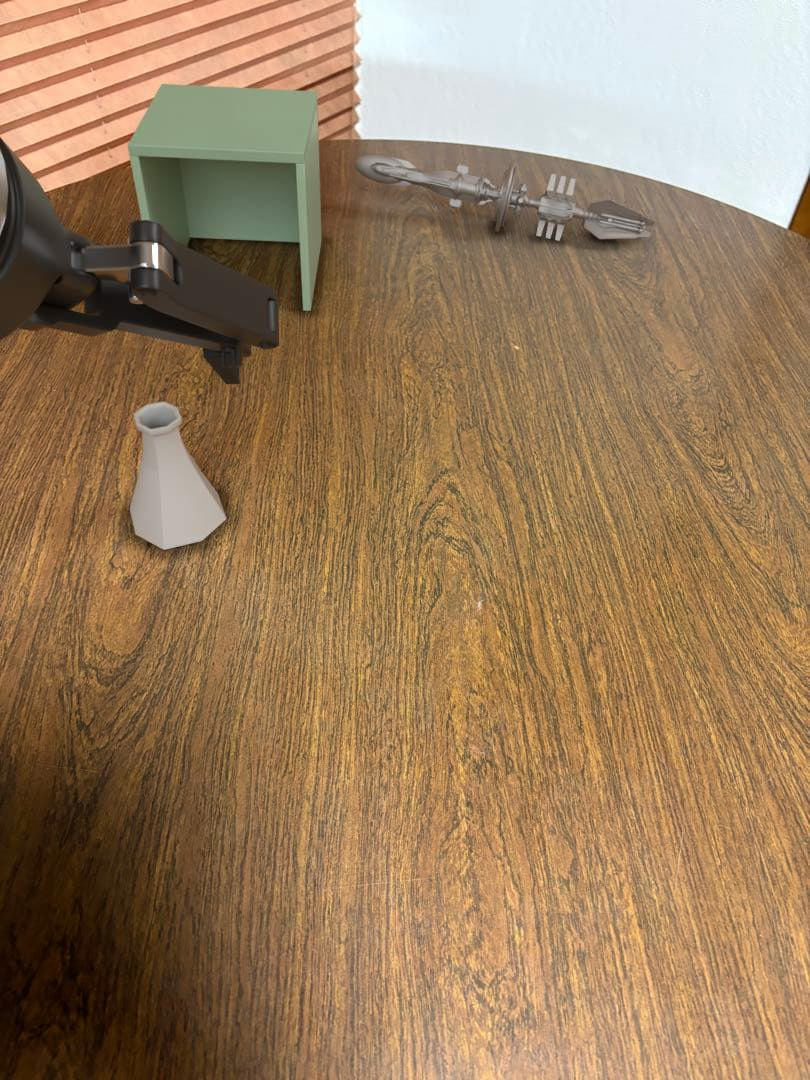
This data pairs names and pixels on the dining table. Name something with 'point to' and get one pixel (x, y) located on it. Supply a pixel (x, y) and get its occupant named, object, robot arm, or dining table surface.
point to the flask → (170, 484)
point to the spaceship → (511, 197)
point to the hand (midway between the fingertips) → (106, 362)
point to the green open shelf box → (232, 167)
